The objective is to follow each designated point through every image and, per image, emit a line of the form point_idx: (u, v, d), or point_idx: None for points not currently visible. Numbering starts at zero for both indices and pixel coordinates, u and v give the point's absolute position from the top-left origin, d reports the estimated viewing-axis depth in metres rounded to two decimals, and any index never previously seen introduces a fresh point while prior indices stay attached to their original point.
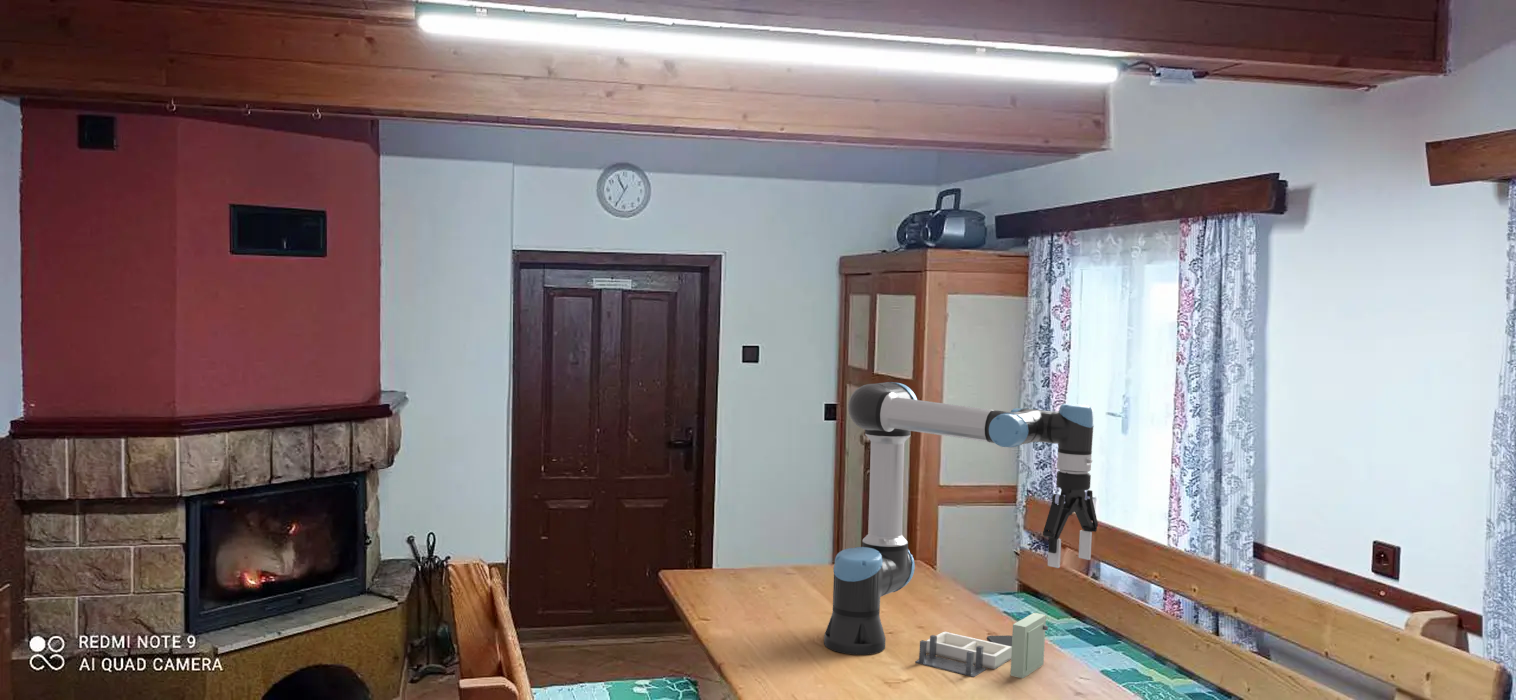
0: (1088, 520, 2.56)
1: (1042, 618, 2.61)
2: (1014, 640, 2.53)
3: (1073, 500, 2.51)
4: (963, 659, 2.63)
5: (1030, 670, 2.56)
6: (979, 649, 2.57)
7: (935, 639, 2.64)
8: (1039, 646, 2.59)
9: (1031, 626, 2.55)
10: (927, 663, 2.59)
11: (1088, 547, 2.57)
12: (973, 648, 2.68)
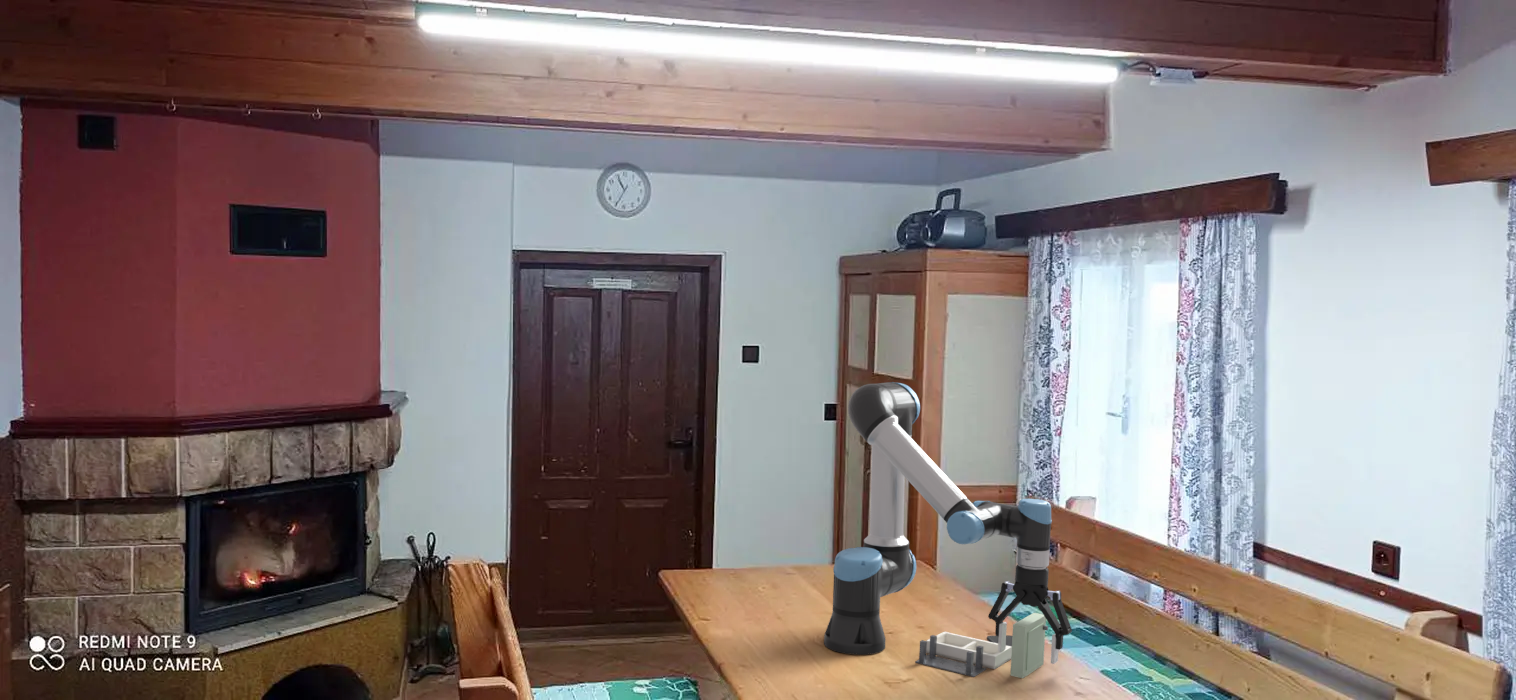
0: (1049, 622, 2.54)
1: (1042, 618, 2.61)
2: (1014, 640, 2.53)
3: (1020, 592, 2.58)
4: (963, 659, 2.63)
5: (1030, 670, 2.56)
6: (979, 649, 2.57)
7: (935, 639, 2.64)
8: (1039, 646, 2.59)
9: (1031, 626, 2.55)
10: (927, 663, 2.59)
11: None
12: (973, 648, 2.68)
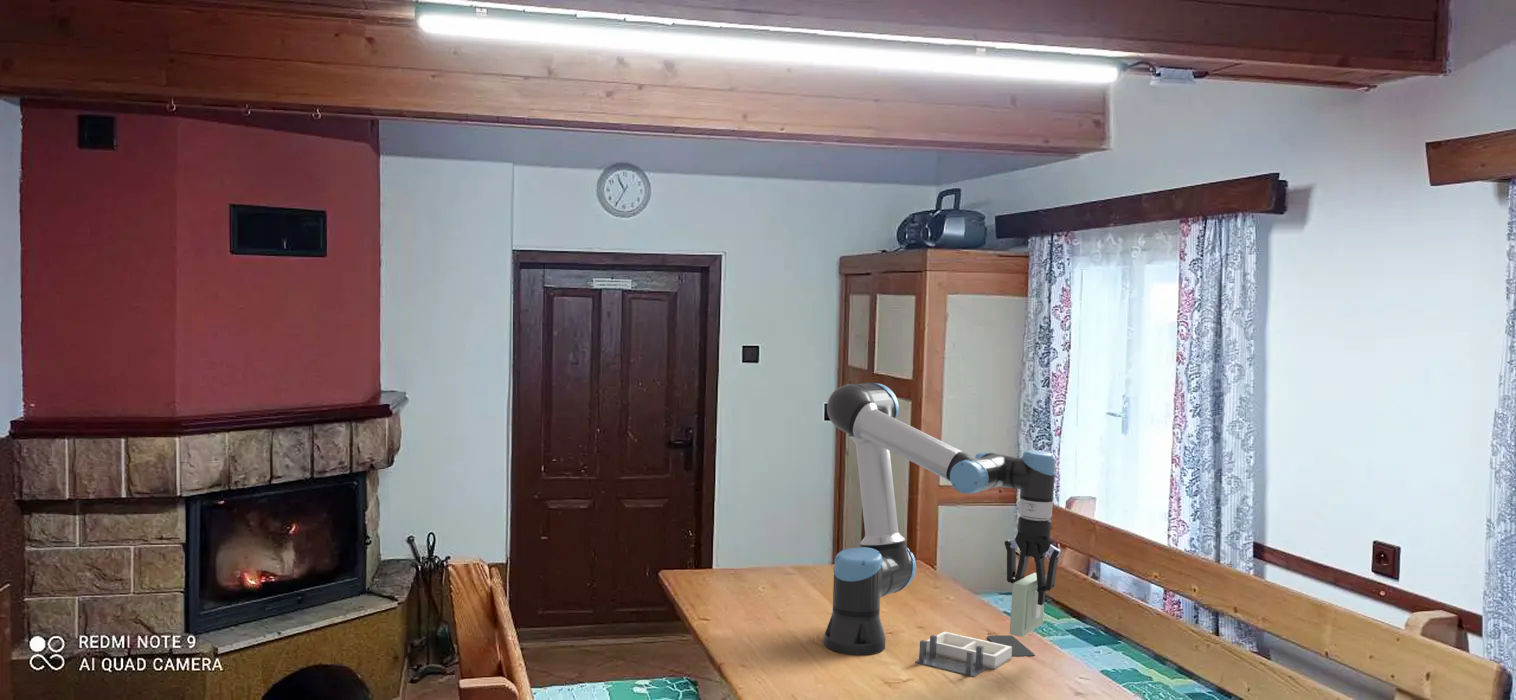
0: (1038, 576, 2.55)
1: None
2: (1014, 599, 2.53)
3: None
4: (963, 659, 2.63)
5: (1029, 629, 2.56)
6: (979, 649, 2.57)
7: (935, 639, 2.64)
8: None
9: (1031, 585, 2.55)
10: (927, 663, 2.59)
11: None
12: (973, 648, 2.68)
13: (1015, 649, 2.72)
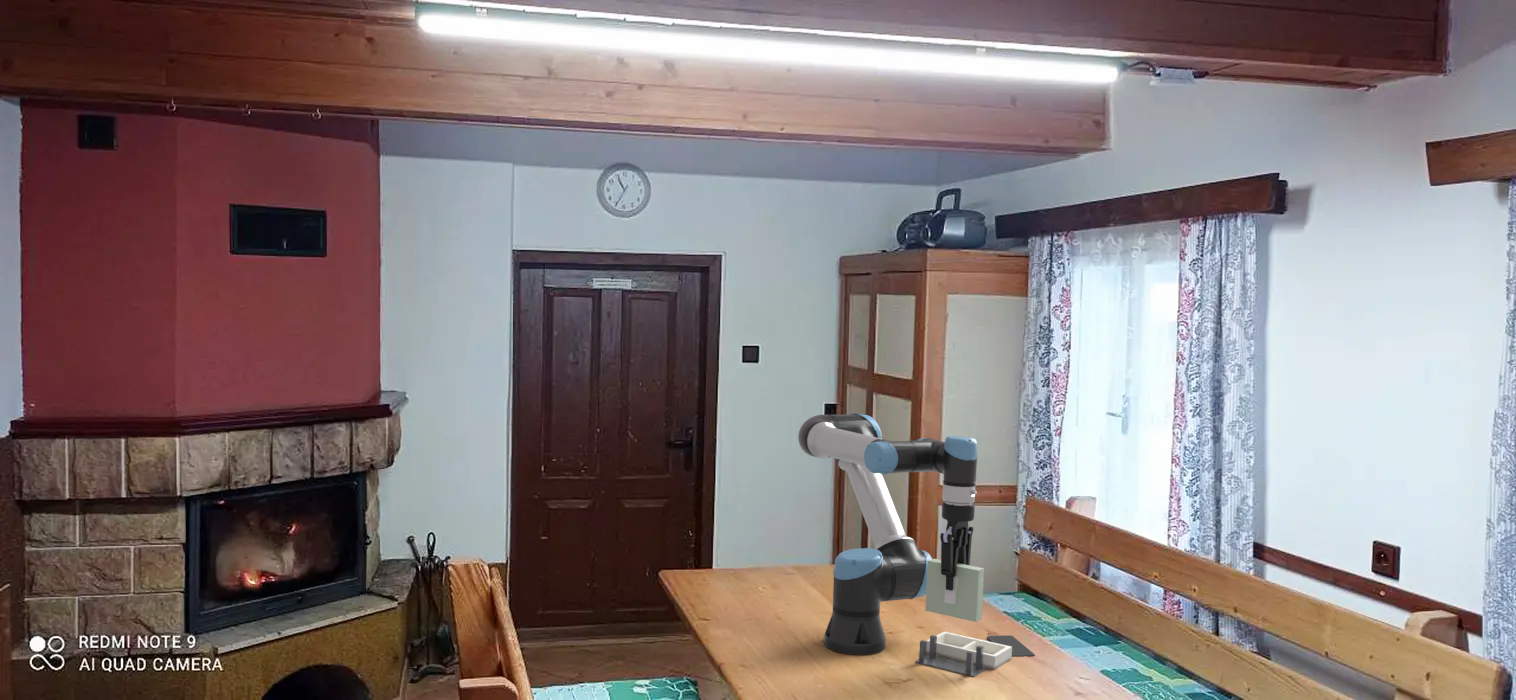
0: (964, 557, 2.59)
1: None
2: (979, 585, 2.53)
3: (958, 533, 2.55)
4: (963, 659, 2.63)
5: None
6: (979, 649, 2.57)
7: (935, 639, 2.64)
8: None
9: None
10: (927, 663, 2.59)
11: None
12: (973, 648, 2.68)
13: (1015, 649, 2.72)
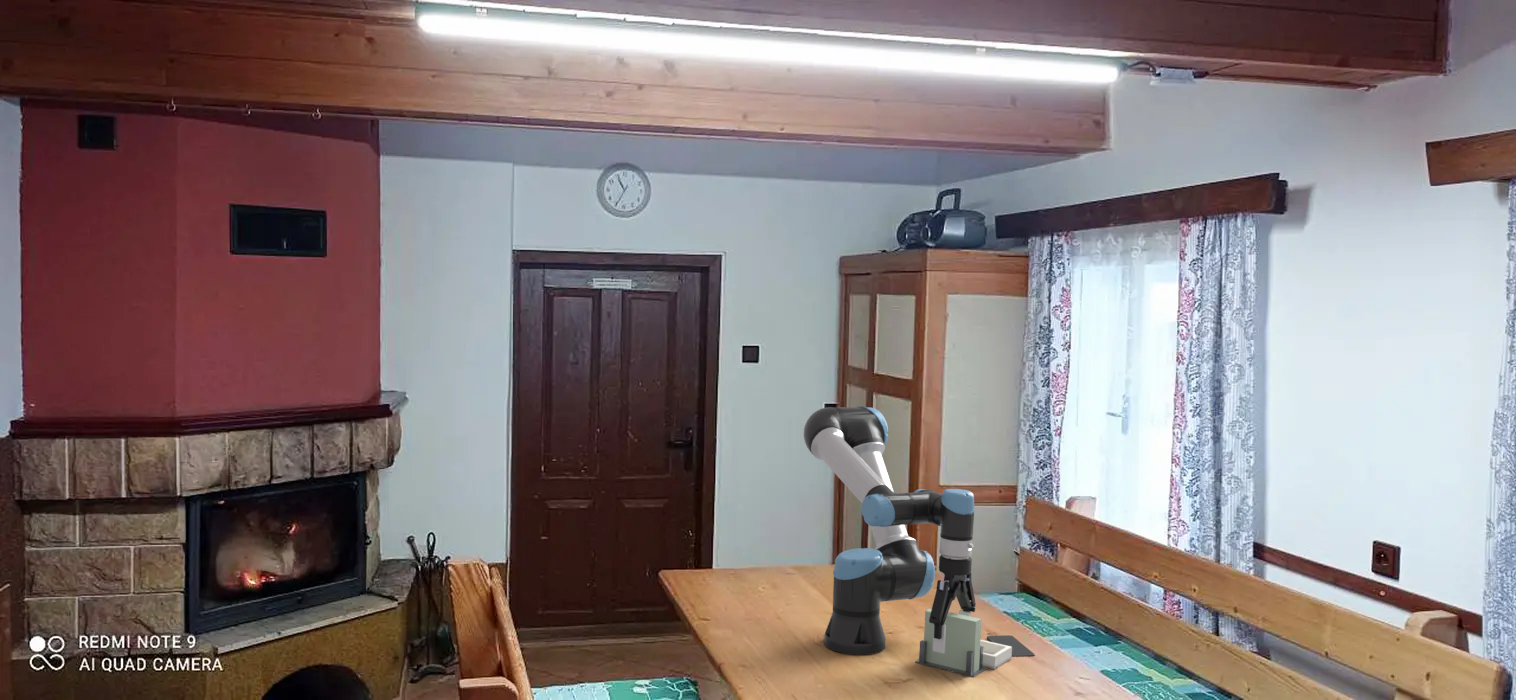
0: (968, 601, 2.62)
1: None
2: (976, 636, 2.54)
3: (955, 585, 2.56)
4: None
5: None
6: None
7: None
8: None
9: None
10: (927, 663, 2.59)
11: None
12: None
13: (1015, 649, 2.72)
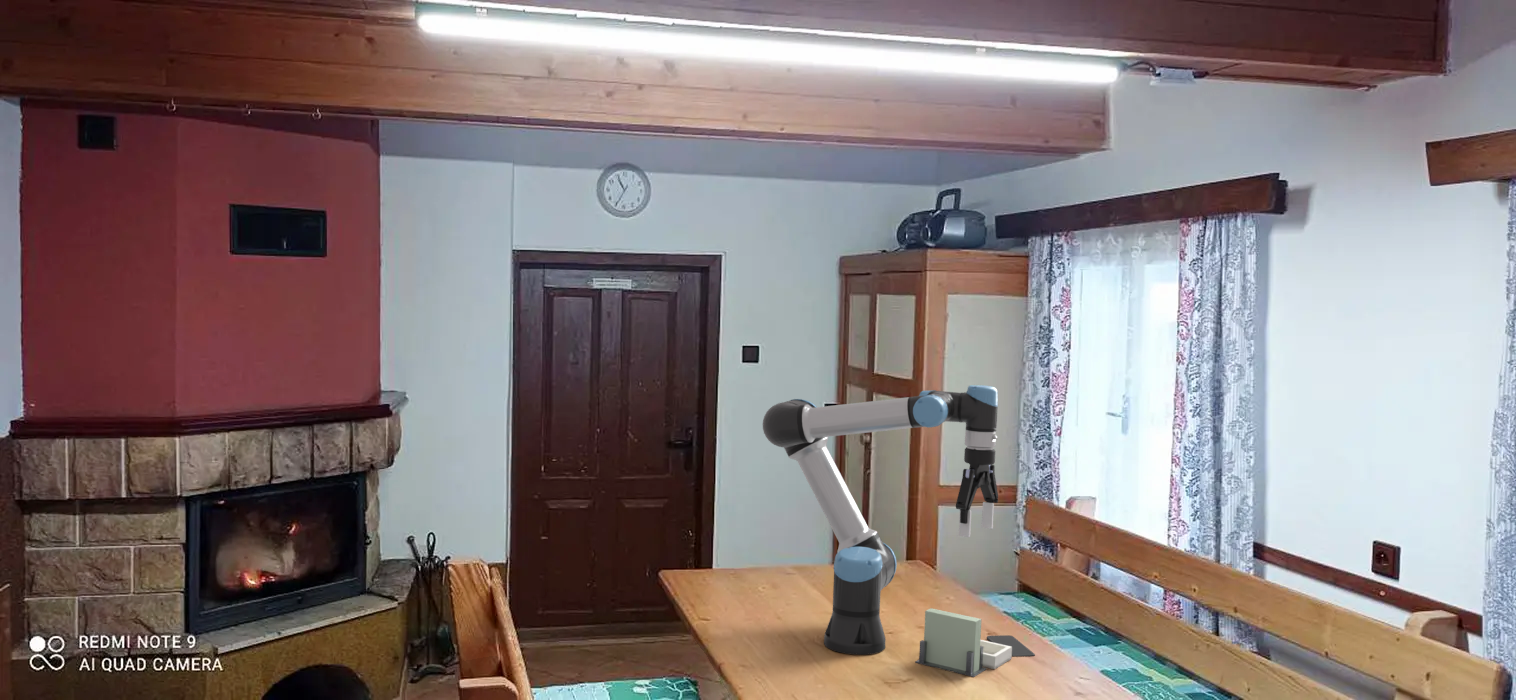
0: (991, 492, 2.78)
1: None
2: (976, 636, 2.54)
3: (980, 474, 2.71)
4: None
5: None
6: None
7: None
8: None
9: None
10: (927, 663, 2.59)
11: (991, 517, 2.79)
12: None
13: (1015, 649, 2.72)
